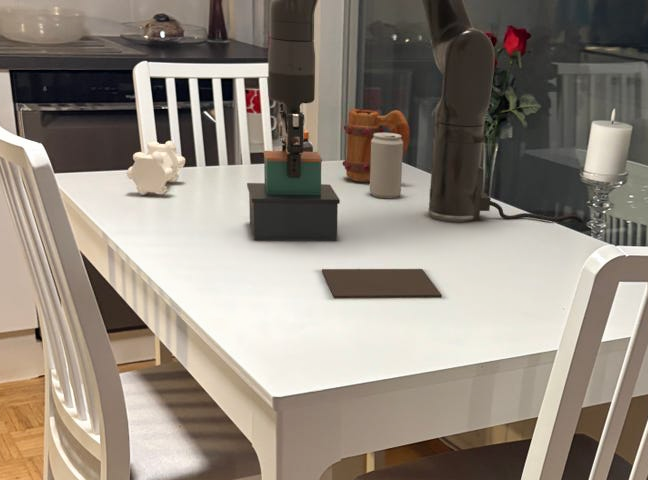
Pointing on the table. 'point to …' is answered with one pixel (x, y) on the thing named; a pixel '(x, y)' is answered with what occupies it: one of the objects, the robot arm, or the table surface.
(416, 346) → the table surface
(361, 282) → the mat
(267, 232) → the bottom box
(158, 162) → the white bone
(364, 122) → the mug
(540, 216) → the robot arm
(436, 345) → the table surface
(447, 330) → the table surface
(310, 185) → the orange and teal box
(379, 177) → the beverage can
